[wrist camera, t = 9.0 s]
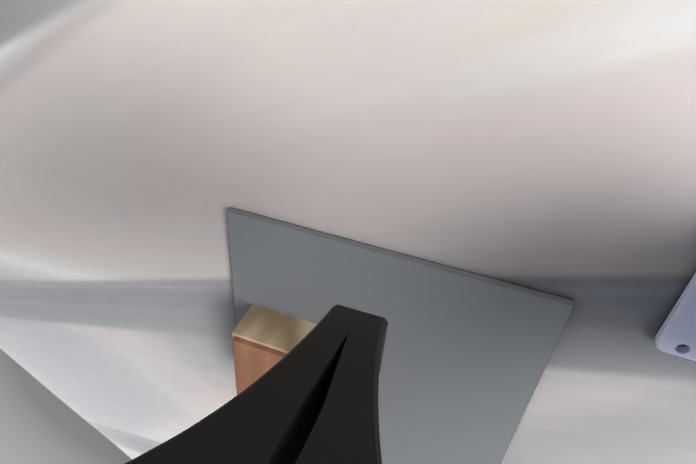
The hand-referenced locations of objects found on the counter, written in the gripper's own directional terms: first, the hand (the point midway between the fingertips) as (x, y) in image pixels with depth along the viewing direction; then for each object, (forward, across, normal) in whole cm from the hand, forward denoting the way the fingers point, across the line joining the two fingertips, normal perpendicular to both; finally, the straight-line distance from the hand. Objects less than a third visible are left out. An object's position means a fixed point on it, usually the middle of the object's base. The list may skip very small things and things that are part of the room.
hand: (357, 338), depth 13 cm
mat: (+10, +1, +14) cm, 18 cm away
